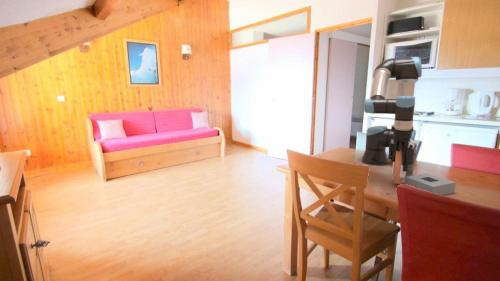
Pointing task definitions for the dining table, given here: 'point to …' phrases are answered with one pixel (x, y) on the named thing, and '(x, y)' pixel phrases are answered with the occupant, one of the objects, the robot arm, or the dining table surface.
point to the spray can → (411, 166)
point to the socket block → (431, 183)
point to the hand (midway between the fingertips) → (398, 175)
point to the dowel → (398, 168)
